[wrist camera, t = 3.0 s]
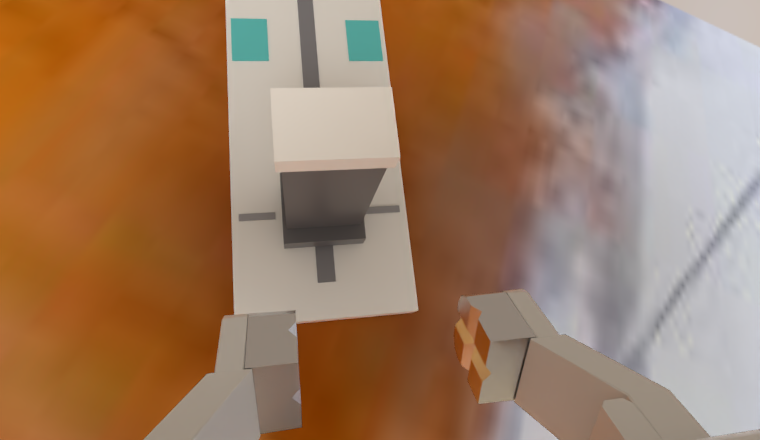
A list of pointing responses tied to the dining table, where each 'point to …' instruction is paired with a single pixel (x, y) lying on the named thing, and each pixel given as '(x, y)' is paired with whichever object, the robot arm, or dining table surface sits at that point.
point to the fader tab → (331, 159)
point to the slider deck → (262, 184)
